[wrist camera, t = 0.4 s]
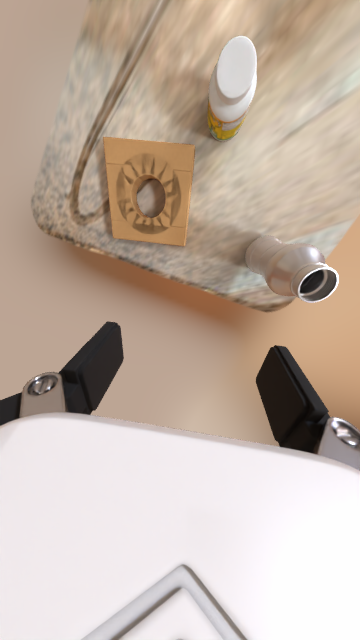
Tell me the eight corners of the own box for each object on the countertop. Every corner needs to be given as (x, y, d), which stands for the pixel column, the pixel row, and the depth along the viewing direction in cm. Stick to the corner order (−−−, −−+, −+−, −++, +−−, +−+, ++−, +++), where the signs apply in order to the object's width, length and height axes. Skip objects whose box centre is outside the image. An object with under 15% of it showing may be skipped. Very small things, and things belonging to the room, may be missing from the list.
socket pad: (111, 144, 28) (102, 136, 26) (195, 151, 28) (194, 144, 25) (119, 236, 36) (112, 237, 33) (185, 244, 35) (184, 246, 32)
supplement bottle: (244, 136, 26) (263, 98, 18) (209, 147, 27) (212, 116, 19) (243, 83, 24) (265, 10, 16) (204, 97, 25) (206, 37, 17)
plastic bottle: (237, 265, 36) (270, 307, 19) (251, 230, 32) (307, 242, 15) (267, 273, 36) (326, 321, 19) (284, 238, 33) (375, 260, 15)
